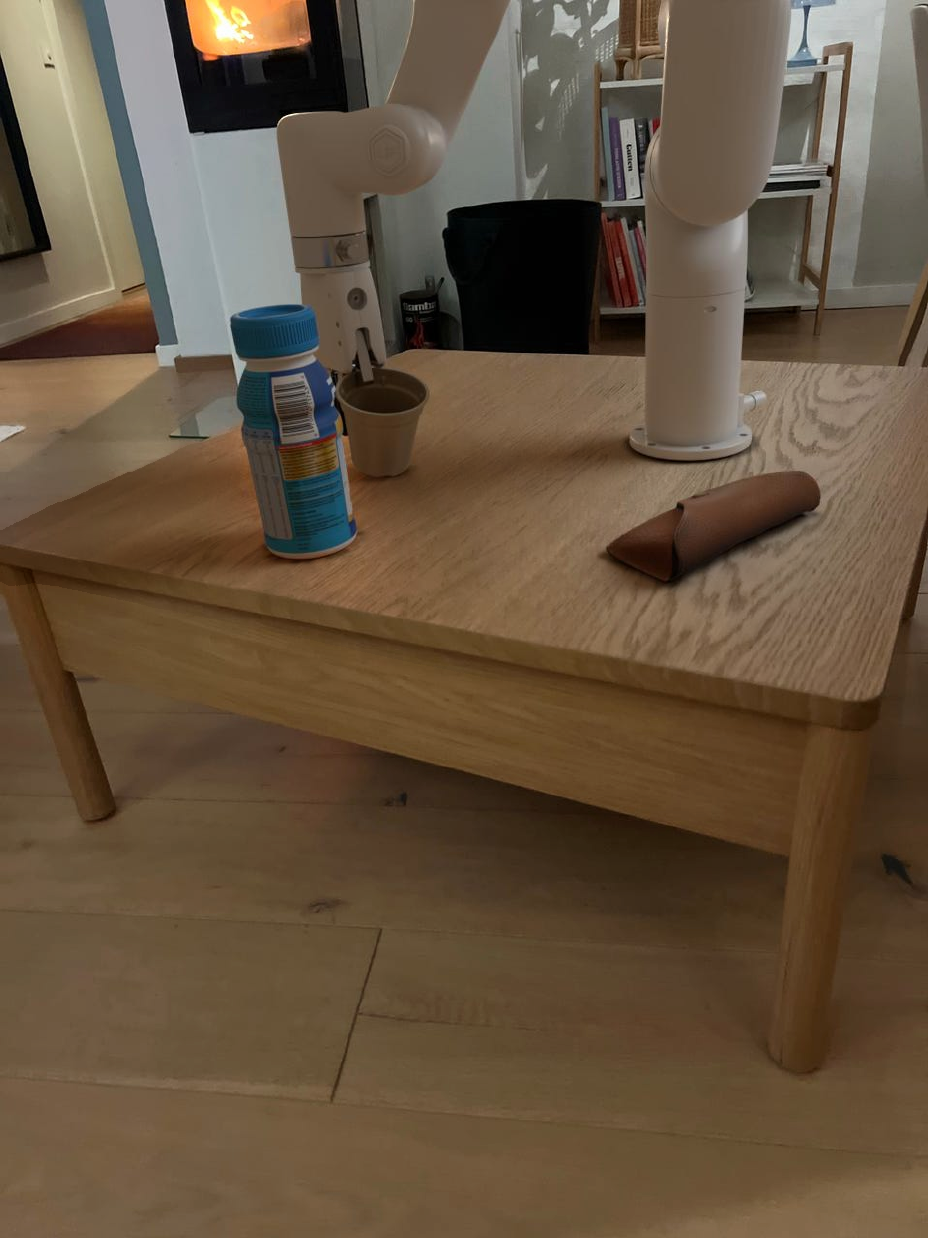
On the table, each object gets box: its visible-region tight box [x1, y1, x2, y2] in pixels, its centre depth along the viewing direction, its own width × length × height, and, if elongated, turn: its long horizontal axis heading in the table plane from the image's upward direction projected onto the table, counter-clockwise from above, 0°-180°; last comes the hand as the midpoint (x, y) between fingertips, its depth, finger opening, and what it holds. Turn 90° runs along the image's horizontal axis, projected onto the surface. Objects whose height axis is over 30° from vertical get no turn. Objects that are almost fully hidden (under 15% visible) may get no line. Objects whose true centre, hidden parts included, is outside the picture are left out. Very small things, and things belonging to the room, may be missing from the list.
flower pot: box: [335, 366, 430, 478], centre depth 94 cm, size 9×9×9 cm
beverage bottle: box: [229, 303, 358, 560], centre depth 76 cm, size 8×8×20 cm
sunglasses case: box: [605, 470, 822, 583], centre depth 74 cm, size 18×7×7 cm
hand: (352, 431), depth 99 cm, fingers closed
